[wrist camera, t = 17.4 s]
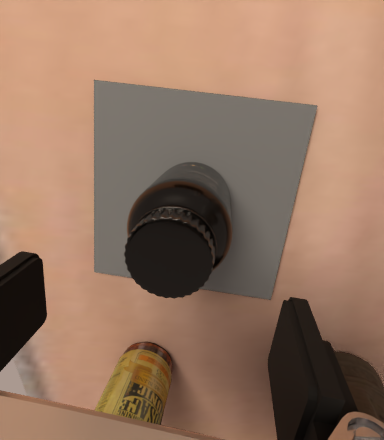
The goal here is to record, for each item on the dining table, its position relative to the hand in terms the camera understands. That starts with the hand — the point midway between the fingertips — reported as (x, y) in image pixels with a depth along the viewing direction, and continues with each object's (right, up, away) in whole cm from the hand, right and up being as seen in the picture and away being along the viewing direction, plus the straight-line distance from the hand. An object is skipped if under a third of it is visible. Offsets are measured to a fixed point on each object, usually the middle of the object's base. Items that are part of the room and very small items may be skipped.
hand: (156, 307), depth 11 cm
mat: (+1, +5, +16) cm, 17 cm away
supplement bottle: (+1, +5, +16) cm, 17 cm away
